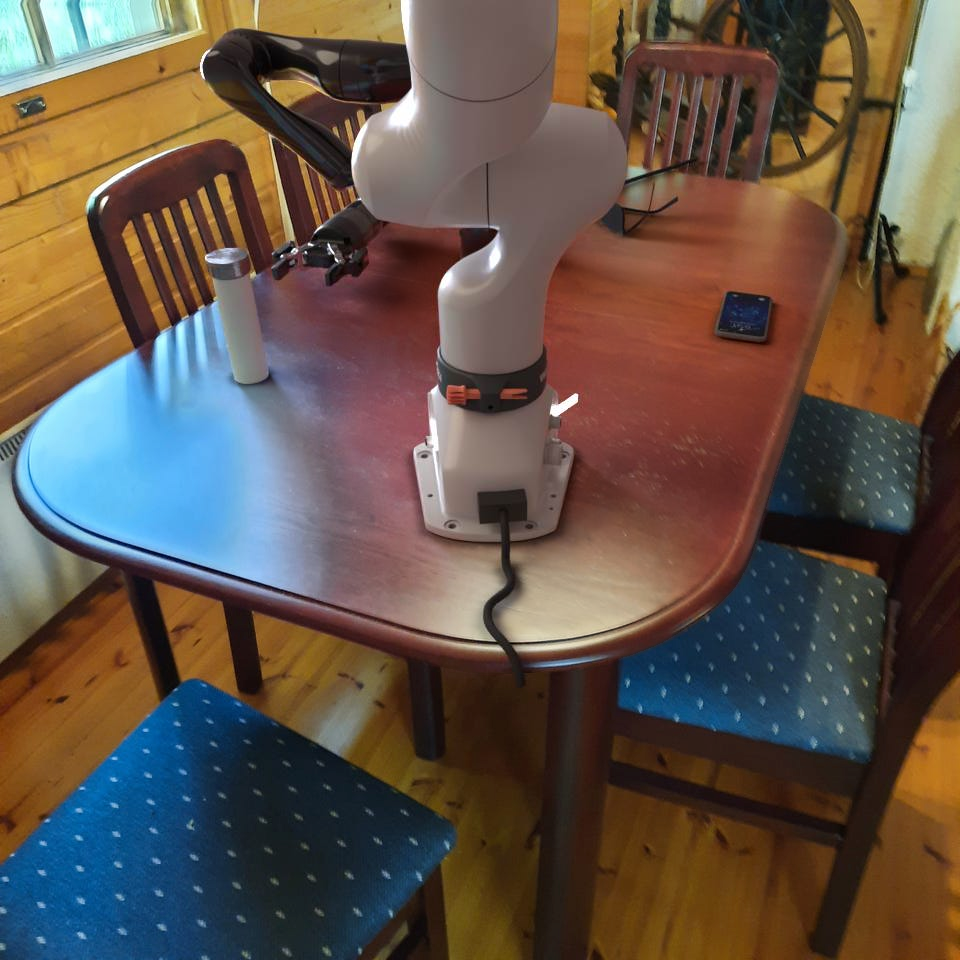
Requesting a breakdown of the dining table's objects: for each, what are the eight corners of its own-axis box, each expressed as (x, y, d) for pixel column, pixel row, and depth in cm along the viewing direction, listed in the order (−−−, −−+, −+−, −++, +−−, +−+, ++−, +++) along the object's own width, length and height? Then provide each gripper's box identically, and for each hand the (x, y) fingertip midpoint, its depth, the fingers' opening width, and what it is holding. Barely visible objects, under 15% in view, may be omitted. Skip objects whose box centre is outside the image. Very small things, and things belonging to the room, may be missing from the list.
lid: (259, 265, 110) (256, 250, 109) (236, 281, 106) (233, 266, 105) (224, 260, 111) (220, 245, 110) (199, 276, 107) (196, 261, 106)
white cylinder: (275, 370, 119) (253, 254, 109) (257, 386, 115) (233, 268, 105) (246, 365, 120) (222, 250, 110) (227, 381, 117) (200, 263, 107)
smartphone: (773, 295, 132) (766, 339, 121) (772, 301, 133) (765, 345, 121) (725, 289, 134) (713, 331, 123) (724, 295, 135) (712, 337, 123)
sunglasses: (688, 228, 158) (691, 201, 155) (616, 238, 155) (618, 210, 152) (648, 199, 171) (651, 174, 168) (581, 208, 168) (582, 182, 165)
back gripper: (300, 212, 140) (254, 249, 128) (382, 219, 137) (342, 257, 124) (307, 256, 145) (262, 295, 132) (386, 263, 141) (348, 305, 129)
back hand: (301, 277), depth 128 cm, fingers open, 8 cm apart
